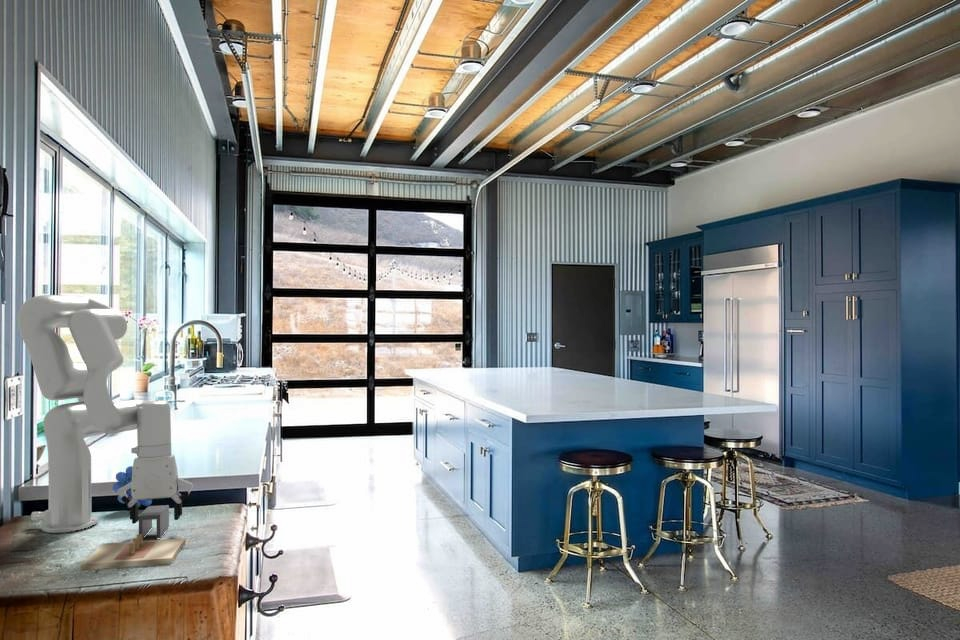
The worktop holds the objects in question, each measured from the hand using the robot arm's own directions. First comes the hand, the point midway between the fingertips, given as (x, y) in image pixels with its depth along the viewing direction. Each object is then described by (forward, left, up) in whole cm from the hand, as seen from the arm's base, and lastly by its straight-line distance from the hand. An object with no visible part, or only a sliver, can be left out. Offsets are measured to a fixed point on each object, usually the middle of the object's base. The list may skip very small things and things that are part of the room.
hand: (156, 520), depth 169 cm
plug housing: (-1, 0, -4) cm, 4 cm away
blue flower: (-12, +26, -4) cm, 29 cm away
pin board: (-1, -16, -4) cm, 16 cm away
